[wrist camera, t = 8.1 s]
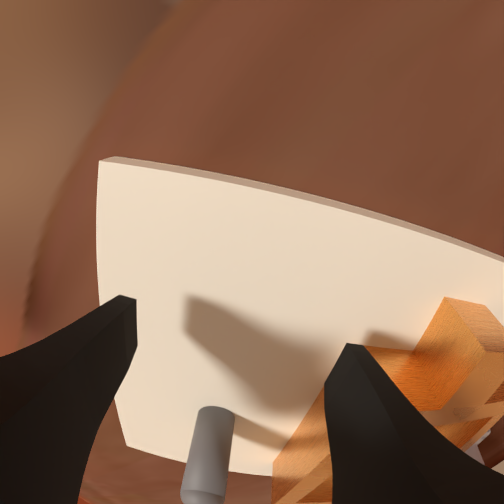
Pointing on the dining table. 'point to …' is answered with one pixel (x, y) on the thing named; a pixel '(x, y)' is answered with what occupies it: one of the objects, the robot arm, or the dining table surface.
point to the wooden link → (413, 396)
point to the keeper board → (257, 306)
